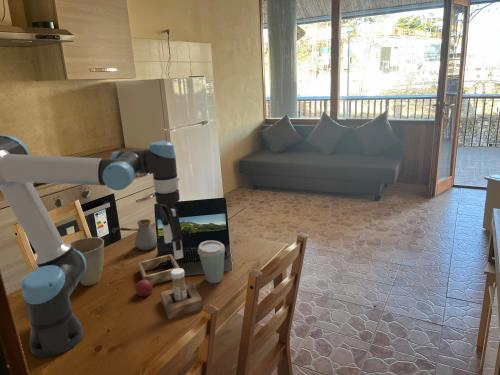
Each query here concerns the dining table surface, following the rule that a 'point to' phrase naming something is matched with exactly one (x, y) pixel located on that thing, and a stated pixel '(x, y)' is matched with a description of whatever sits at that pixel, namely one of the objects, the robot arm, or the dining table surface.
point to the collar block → (181, 302)
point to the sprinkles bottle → (179, 284)
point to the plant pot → (91, 258)
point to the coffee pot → (143, 235)
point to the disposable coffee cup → (212, 260)
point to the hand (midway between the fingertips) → (173, 249)
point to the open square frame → (154, 263)
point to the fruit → (143, 288)
